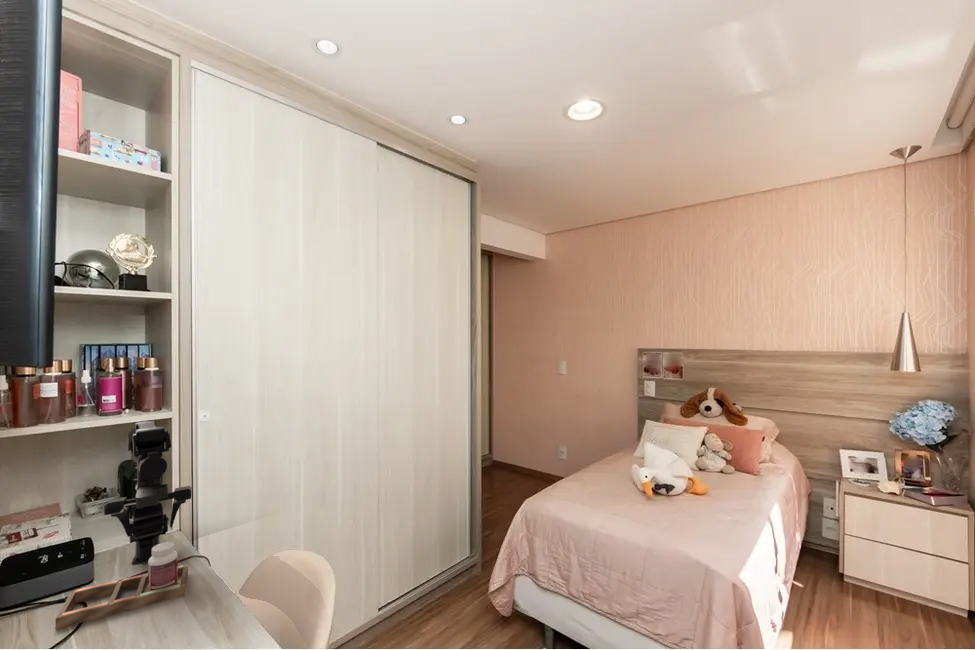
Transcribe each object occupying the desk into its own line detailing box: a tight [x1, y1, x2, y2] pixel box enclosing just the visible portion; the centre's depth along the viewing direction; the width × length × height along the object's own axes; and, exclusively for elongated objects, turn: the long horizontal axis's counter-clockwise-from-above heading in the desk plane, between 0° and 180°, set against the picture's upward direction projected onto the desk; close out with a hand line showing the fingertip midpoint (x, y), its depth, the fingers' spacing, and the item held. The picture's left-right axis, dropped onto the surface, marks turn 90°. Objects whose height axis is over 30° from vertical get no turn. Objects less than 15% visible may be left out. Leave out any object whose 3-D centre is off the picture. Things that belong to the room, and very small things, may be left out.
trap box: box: [55, 564, 189, 630], centre depth 109 cm, size 24×11×3 cm, turn 121°
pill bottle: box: [147, 541, 179, 592], centre depth 112 cm, size 6×6×11 cm
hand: (150, 531), depth 119 cm, fingers open, 9 cm apart
